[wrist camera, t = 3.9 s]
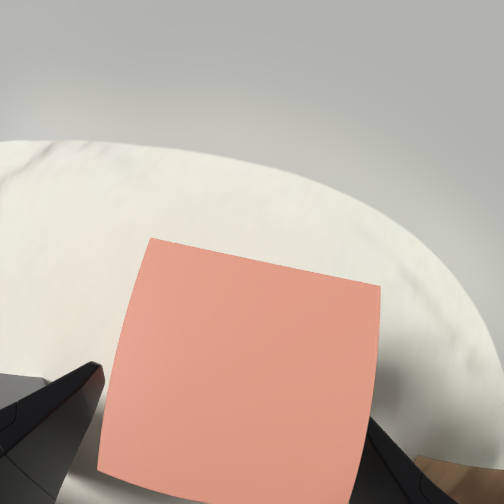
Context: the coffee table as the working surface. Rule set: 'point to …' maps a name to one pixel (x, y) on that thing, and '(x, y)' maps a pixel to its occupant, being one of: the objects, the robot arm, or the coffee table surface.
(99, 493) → the coffee table surface
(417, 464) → the walnut pillar
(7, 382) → the slate pillar
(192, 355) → the salmon block
